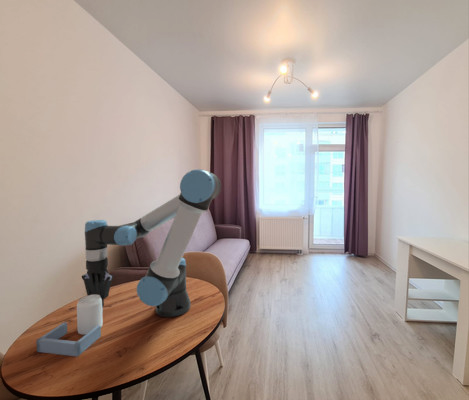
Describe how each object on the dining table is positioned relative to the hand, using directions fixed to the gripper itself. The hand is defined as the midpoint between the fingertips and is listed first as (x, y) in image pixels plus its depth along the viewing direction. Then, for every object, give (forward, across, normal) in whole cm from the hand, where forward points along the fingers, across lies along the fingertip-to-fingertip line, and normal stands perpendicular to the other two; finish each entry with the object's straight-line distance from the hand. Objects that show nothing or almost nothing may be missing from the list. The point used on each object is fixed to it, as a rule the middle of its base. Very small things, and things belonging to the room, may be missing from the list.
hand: (98, 314), depth 90 cm
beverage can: (+3, -1, +5) cm, 6 cm away
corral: (+3, 0, +13) cm, 14 cm away
